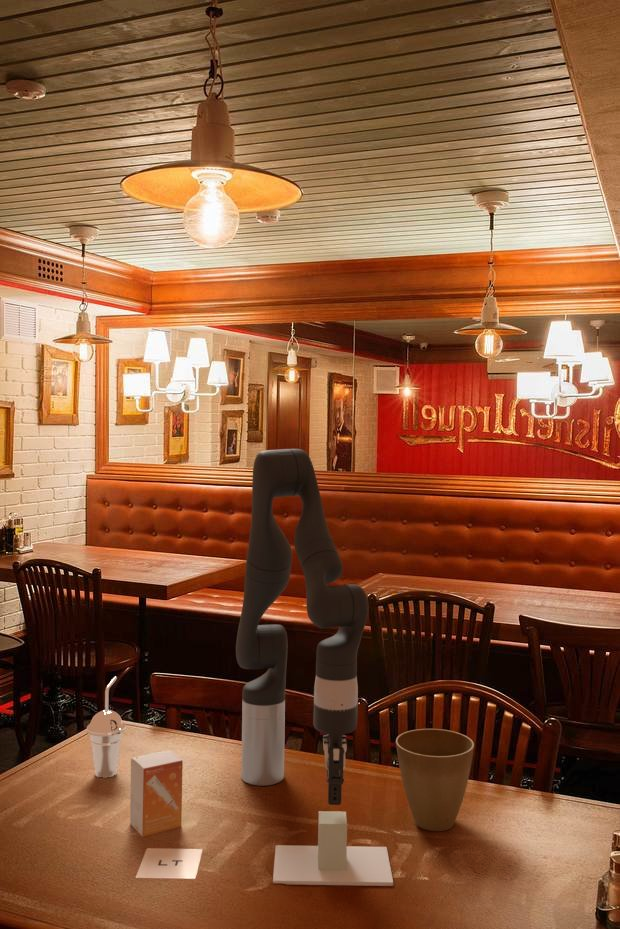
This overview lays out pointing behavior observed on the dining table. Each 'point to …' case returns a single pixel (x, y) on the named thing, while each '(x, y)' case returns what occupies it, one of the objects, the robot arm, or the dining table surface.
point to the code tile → (170, 863)
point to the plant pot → (434, 774)
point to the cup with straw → (106, 739)
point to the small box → (156, 792)
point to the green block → (332, 840)
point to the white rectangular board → (360, 870)
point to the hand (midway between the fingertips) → (333, 792)
